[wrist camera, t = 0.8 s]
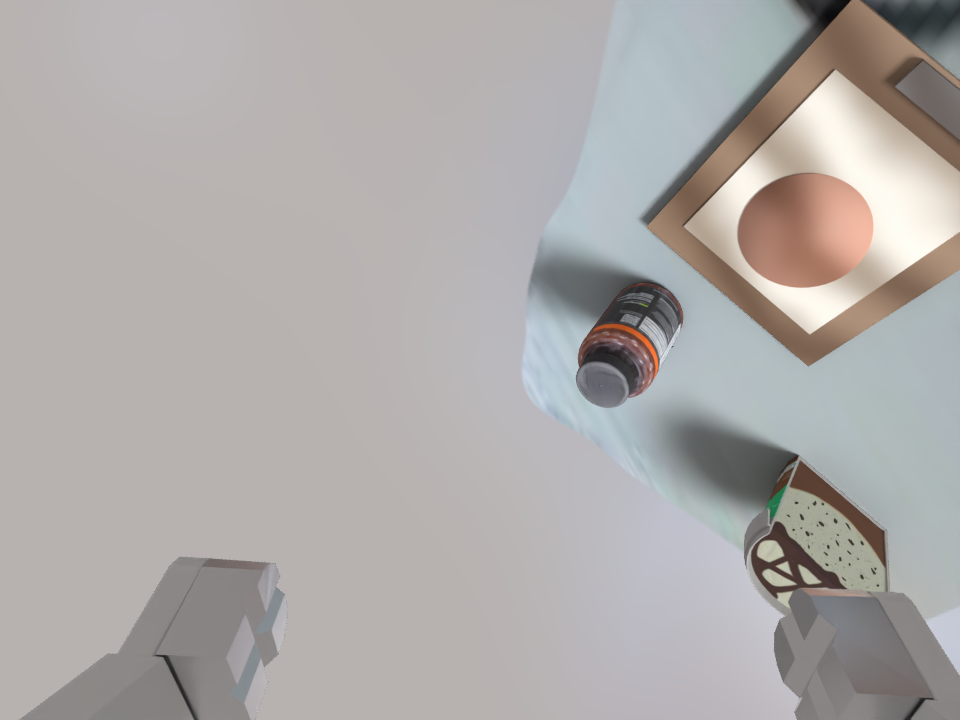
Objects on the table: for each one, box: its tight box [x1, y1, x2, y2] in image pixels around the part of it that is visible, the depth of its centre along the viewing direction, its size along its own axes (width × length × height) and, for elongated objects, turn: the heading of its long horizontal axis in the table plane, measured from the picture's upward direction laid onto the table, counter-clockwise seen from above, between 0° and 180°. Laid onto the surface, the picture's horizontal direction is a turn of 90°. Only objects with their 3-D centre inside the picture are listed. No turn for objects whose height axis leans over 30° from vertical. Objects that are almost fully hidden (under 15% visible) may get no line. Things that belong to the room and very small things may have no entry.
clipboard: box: [647, 0, 960, 366], centre depth 39 cm, size 18×16×2 cm
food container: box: [744, 455, 890, 616], centre depth 49 cm, size 12×6×10 cm, turn 61°
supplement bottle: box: [576, 283, 683, 408], centre depth 47 cm, size 6×6×11 cm
